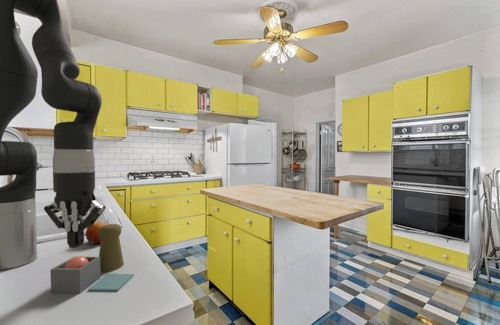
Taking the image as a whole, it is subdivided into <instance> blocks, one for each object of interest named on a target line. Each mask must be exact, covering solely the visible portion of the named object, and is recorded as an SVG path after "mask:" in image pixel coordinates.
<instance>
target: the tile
mask: <svg viewBox="0 0 500 325" xmlns="http://www.w3.org/2000/svg"><path fill="white" fill-rule="evenodd" d="M134 276H135V274H134V273H107V274H105V275H104V276H102V277H101V278H99V279H98V280H97V281H95V282H94V283H93V284H92V285H90V286H89V287H88V288H87V290H88V291H89V292H91V291H93V292H119V291H120V290H121V289H122V288H123V287H124V286H125V285H126V284H127V283H128V282H129V281H130V280H131V279H132V278H133V277H134Z"/></svg>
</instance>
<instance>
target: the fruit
mask: <svg viewBox="0 0 500 325" xmlns="http://www.w3.org/2000/svg"><path fill="white" fill-rule="evenodd" d="M108 224H109V223H106V222H103V221H95V223H94V224H93V225H92V226H89V227H87V228H86V229H85V238H86V240H87V243H90V247H92V246H93V245H95V244H101V238H100V237H99V233H98V232H99V229H100V228H101V227H102V226H104V225H108Z"/></svg>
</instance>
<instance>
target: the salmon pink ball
mask: <svg viewBox="0 0 500 325" xmlns="http://www.w3.org/2000/svg"><path fill="white" fill-rule="evenodd" d="M85 257H86V256H83V255H77V256H72V257H71V258H69V259H70V260H69V259H68V261H67V260H66V261H67V263H66V264H65V266H64V268H81V267H82V266H84V265H86V264H87V263H89V261H88V259H87V258H85Z"/></svg>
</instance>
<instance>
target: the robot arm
mask: <svg viewBox="0 0 500 325" xmlns="http://www.w3.org/2000/svg"><path fill="white" fill-rule="evenodd" d="M15 10H17V11H19V12H21V13H24V14H27V15H28V16H32V17H34V18H37V19H38V20H39V21H40V23H41V25H40V26H39V27H38V28H37V29H36V31H34V33H33V35H32V38H31V48H32V50H33V54H34V55H35V58H36V59H37V63H38V65H39V67H40V72H41V73H40V74H41V96H42V99H43V101H44V102H45V103H46V104H47V105H48V106H49V107H51V108H52V109H55V110H59V111H67V112H71V113H76V116H75V118H74V119H73V121H61V122H58V123H56V124H54V127H53V155H52V156H53V157H52V188H53V189H52V190H53V192H54V193H55V195H54V199H53V202H51V204H49V205H45V206H44V207H43V210H44V212H45V213H46V214H47V216H48V217H49V218H50V219H51V221H52V222H53V224H54V225H55V226H56V227H57V228H58V229H63V230H65V231H66V243H67V246H68V248H72V249H77V248H79V247H80V246H82V245H83V244H84V242H85V230H86V229H87V227H89V226H92V225H93V224H94V223H95V222H97V220H98V219H99V217H100V216H101V215H102V214H103V212H104V211H105V210H106V207H107V206H106V204H100V203H98V202H97V201H96V200H97V198H96V195H95V194H94V192H95V189H96V169H95V168H96V163H95V162H96V161H95V160H96V159H95V153H94V131H95V127H96V124H97V121H98V118H99V114H100V111H101V108H102V103H103V100H102V95H101V92H100V90H99V89H98V88H97V87H96V86H95V85H94V84H91V83H88V82H86V81H85V82H84V81H82V80H78V77H79V76H80V72H81V69H80V66H79V63H78V60H77V59H76V57H75V54H74V53H73V50H72V48H71V46H70V44H69V42H68V38H67V36H66V32H65V28H64V23H63V18H62V14H61V10H60V6H59V2H58V0H0V176H1V177H2V176H3V177H4V176H15V177H14V179H13V180H11V182H9V183H7V184H5V185H2V186H0V271H1V270H9V269H14V268H18V267H21V266H24V265H27V264H29V263H32V262H33V261H35V260H37V258H38V247H37V245H38V242H37V240H38V239H37V208H36V190H37V169H38V168H37V167H38V155H37V153H38V152H37V150H36V147H35V146H34V144H33V143H32V142H28V141H13V140H2V139H3V136H4V133H5V131H6V129H7V127H8V125H9V124H10V123H11V122H12V121H13V119H14V118H15V117H16V116H17V115H19V114H20V113H21V112H22V111H24V109H26V108H27V107H28V106H29V105H30V104H31V103H32V102H33V100H34V99H35V97H36V94H37V86H38V76H39V74H38V73H39V72H38V68H37V66H36V63H35V62H34V60H33V58H32V56H31V54H30V53H29V50H28V49H27V47H26V45H25V44H24V42H23V40H22V38H21V36H20V34H19V30H18V28H17V25H16V20H15Z"/></svg>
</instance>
